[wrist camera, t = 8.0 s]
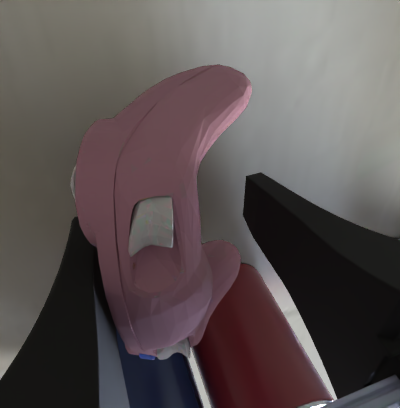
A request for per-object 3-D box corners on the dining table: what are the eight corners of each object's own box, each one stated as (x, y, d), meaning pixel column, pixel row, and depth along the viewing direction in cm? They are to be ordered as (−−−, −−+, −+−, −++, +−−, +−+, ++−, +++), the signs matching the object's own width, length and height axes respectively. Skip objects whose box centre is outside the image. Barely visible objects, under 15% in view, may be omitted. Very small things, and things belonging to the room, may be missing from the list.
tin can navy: (167, 281, 21) (222, 443, 14) (175, 331, 25) (220, 475, 18) (64, 312, 19) (75, 507, 13) (90, 359, 23) (107, 525, 17)
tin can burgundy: (263, 252, 22) (350, 389, 16) (256, 304, 26) (323, 429, 20) (174, 279, 21) (230, 440, 15) (180, 329, 25) (227, 471, 19)
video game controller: (114, 50, 11) (-7, 182, 6) (254, 50, 11) (248, 196, 6) (153, 247, 18) (109, 389, 13) (241, 253, 17) (232, 405, 12)
